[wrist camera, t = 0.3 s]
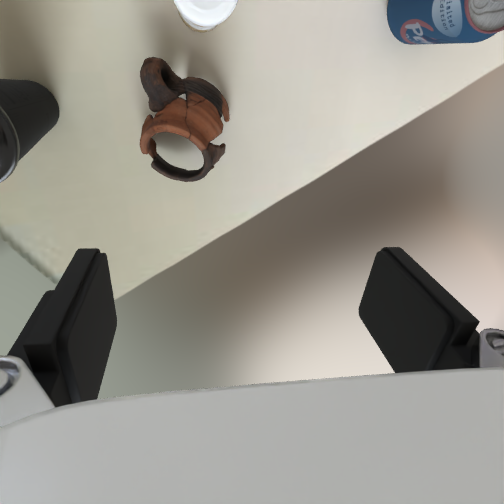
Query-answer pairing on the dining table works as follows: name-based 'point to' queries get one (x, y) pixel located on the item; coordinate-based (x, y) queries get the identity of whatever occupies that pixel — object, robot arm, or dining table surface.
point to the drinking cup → (23, 120)
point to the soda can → (445, 20)
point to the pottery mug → (182, 116)
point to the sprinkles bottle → (204, 12)
